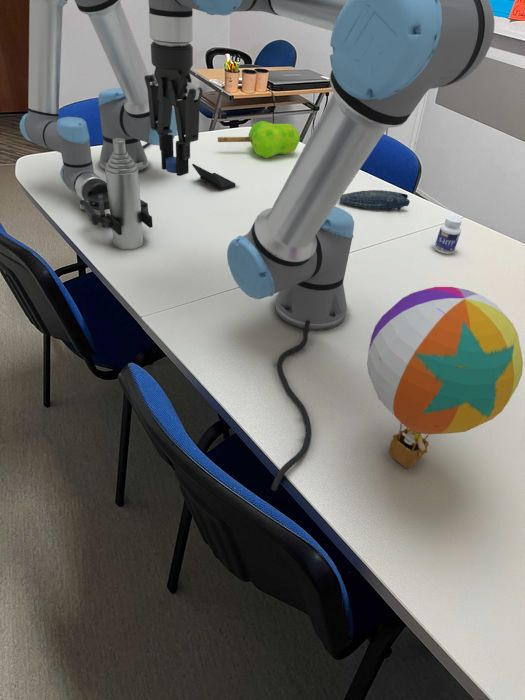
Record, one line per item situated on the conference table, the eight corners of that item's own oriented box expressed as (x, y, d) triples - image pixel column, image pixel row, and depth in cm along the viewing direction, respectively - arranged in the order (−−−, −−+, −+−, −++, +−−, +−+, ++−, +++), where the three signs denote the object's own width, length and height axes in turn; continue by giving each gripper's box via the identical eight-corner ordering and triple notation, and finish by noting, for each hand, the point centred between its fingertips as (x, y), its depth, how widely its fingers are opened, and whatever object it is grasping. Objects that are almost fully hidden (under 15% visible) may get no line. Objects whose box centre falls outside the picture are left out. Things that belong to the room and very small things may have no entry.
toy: (317, 448, 82) (351, 286, 63) (393, 397, 93) (442, 246, 74) (418, 536, 71) (496, 372, 52) (491, 467, 82) (578, 310, 63)
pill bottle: (433, 251, 139) (442, 220, 133) (435, 243, 143) (444, 213, 137) (453, 256, 138) (464, 225, 132) (454, 247, 142) (465, 217, 136)
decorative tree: (215, 117, 188) (295, 117, 193) (215, 147, 195) (292, 146, 200) (221, 131, 174) (307, 131, 180) (221, 163, 181) (304, 161, 186)
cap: (163, 171, 107) (162, 161, 105) (169, 165, 110) (168, 155, 108) (181, 174, 106) (181, 164, 105) (186, 168, 109) (186, 158, 108)
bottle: (110, 238, 132) (98, 135, 116) (139, 234, 134) (131, 133, 119) (117, 251, 127) (105, 145, 111) (146, 247, 129) (139, 143, 114)
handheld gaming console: (239, 179, 164) (224, 157, 156) (229, 197, 163) (213, 176, 155) (213, 174, 171) (197, 153, 162) (202, 192, 169) (186, 171, 161)
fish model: (408, 214, 157) (412, 198, 153) (339, 207, 158) (341, 191, 154) (406, 206, 162) (410, 190, 159) (339, 199, 163) (341, 183, 160)
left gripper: (131, 198, 145) (173, 231, 131) (59, 213, 134) (97, 250, 121) (129, 171, 140) (172, 202, 126) (54, 184, 129) (93, 220, 116)
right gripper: (220, 48, 92) (217, 178, 107) (155, 32, 99) (161, 156, 114) (189, 52, 87) (190, 187, 102) (124, 35, 95) (134, 163, 109)
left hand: (135, 225), depth 124 cm, fingers closed on bottle, 7 cm apart
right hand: (175, 170), depth 108 cm, fingers closed on cap, 4 cm apart
